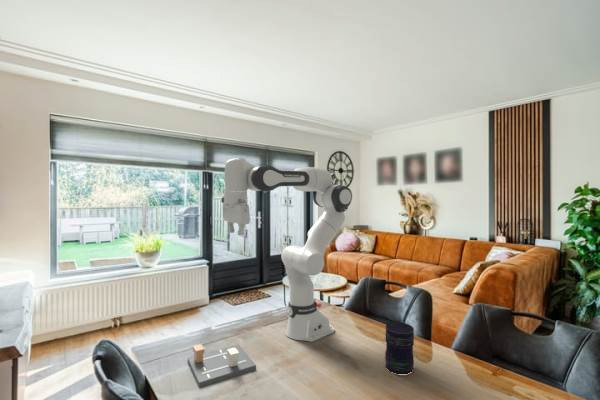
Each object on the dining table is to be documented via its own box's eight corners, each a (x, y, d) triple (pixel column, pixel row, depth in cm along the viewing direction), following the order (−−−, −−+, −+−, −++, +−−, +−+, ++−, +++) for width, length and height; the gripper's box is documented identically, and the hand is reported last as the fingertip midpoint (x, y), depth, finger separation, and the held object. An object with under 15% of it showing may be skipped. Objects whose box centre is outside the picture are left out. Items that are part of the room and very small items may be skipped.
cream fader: (234, 359, 116) (234, 347, 116) (239, 365, 112) (239, 352, 112) (227, 361, 114) (226, 349, 114) (230, 367, 110) (230, 354, 110)
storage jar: (399, 378, 107) (399, 335, 107) (379, 364, 116) (379, 324, 116) (419, 371, 112) (420, 329, 111) (399, 358, 121) (399, 319, 120)
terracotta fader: (201, 355, 118) (201, 343, 118) (204, 361, 114) (204, 348, 114) (193, 358, 117) (193, 345, 117) (195, 363, 113) (195, 351, 113)
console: (238, 347, 128) (238, 343, 128) (255, 369, 113) (255, 364, 113) (187, 361, 118) (187, 357, 118) (199, 387, 103) (199, 382, 103)
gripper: (254, 199, 117) (254, 236, 117) (234, 198, 134) (234, 230, 134) (238, 199, 113) (238, 237, 114) (219, 198, 131) (220, 231, 131)
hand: (236, 233), depth 124 cm, fingers open, 8 cm apart
